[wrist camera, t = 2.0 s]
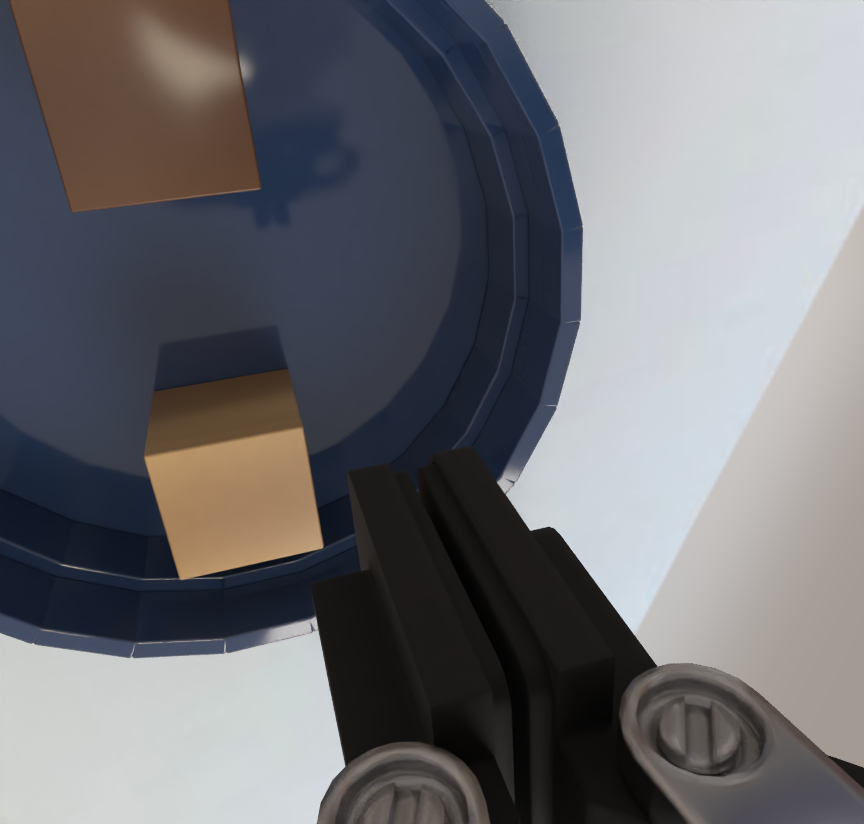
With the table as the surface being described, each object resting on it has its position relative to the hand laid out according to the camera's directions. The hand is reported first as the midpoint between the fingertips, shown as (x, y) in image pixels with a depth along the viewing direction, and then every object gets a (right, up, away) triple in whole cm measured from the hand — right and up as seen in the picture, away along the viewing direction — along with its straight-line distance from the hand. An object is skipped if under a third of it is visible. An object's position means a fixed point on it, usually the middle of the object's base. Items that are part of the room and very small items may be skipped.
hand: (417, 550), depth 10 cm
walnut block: (-7, +10, +8) cm, 15 cm away
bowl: (-7, +6, +11) cm, 14 cm away
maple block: (-6, +1, +13) cm, 15 cm away
